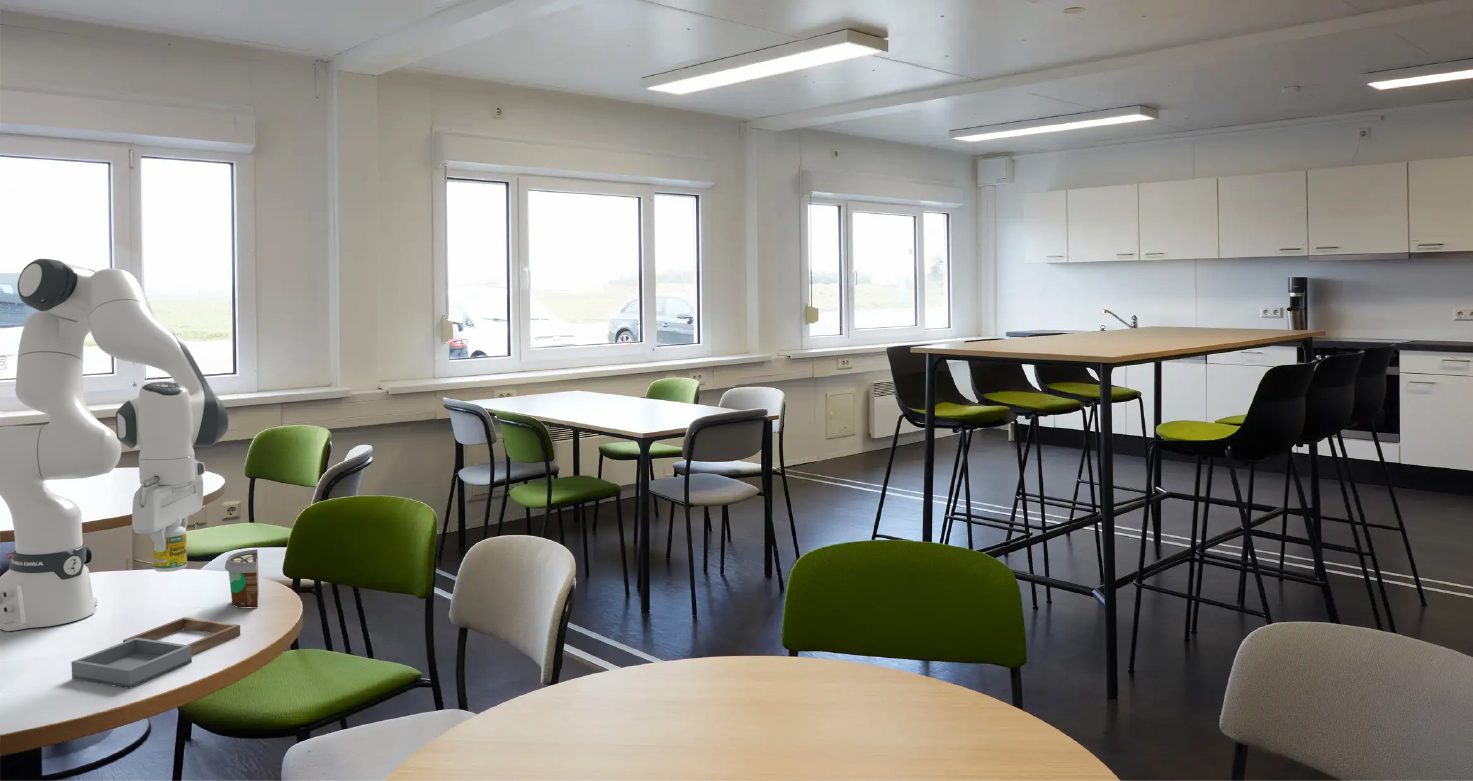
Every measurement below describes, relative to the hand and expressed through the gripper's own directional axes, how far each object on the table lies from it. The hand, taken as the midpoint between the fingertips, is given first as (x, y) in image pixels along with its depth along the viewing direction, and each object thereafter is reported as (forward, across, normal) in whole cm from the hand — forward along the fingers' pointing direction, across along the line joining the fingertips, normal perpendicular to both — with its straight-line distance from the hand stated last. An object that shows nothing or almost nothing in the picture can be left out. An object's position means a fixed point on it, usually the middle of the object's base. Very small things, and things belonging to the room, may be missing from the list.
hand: (170, 546), depth 180 cm
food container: (+19, +28, -2) cm, 34 cm away
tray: (+19, -10, +2) cm, 22 cm away
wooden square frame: (+19, +3, 0) cm, 20 cm away
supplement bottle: (+4, 0, 0) cm, 4 cm away
